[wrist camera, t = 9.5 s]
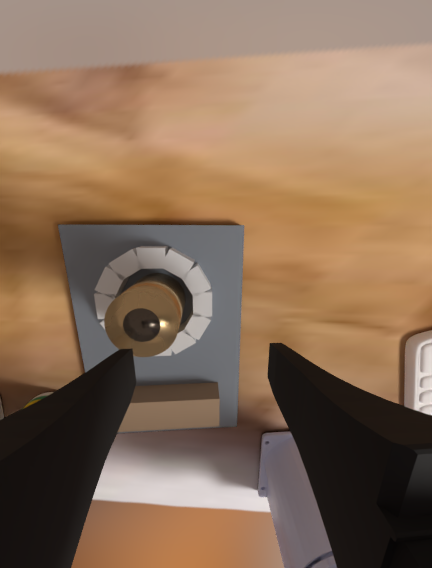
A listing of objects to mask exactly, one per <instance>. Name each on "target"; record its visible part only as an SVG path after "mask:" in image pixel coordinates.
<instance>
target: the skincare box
mask: <svg viewBox="0 0 432 568" xmlns="http://www.w3.org/2000/svg"><path fill="white" fill-rule="evenodd" d="M3 418H4V414H3V408H2V401H1V396H0V420H1V419H3Z"/></svg>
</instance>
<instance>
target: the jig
mask: <svg viewBox="0 0 432 568" xmlns="http://www.w3.org/2000/svg"><path fill="white" fill-rule="evenodd" d="M58 228H59V233H60V239H61V244H62V249H63V255H64V260H65V266H66V271H67V277H68V282H69V287H70V293H71V298H72V304H73V309H74V315H75V320H76V325H77V331H78V336H79V342H80V347H81V352H82V358H83V363H84V369H85V373H86V372H87V371H89V370H90V369H91V368H93V367H94V366H96V365H97V364H99V363H100V362H102V361H103V360H104V359H106V358H107V357H109V356H110V355H112V354H113V353H115V352H116V351H118V350H119V349H118V348H117V347H116V346H115V345H114V344H113V343H112V342H111V341H110V339H109V337H108V336H107V333H106V331H105V326H104V318H105V313H106V311H107V308H108V307H109V305H110V304H111V302H112V301H113V300H114V299H115V298H117V297H118V296H119V295H121V294H122V293H123V292H124V291H126V290H127V289H128V288H130V287H131V286H132V285H133V284H135V283H136V282H137V281H139V280H140V279H141V278H143V277H144V276H146V275H149V274H153V273H162V274H166V275H169V276H171V277H173V278H174V279H176V280H177V281H178V282H179V283H180V285H181V286H182V288H183V290H184V293H185V306H184V310H183V314H182V318H181V322H180V326H179V330H178V334H177V337H176V339H175V341H174V342H173V344H172V345H171V346H170V347H169V348H168V349H167V350H166V351H164V352H162V353H160V354H158V355H155V356H151V357H136V356H133V358H134V366H135V374H136V386H135V389H134V393H133V396H132V399H131V402H130V405H129V407H128V409H127V412H126V414H125V416H124V419H123V421H122V423H121V425H120V428H119V430H118V432H117V434H118V433H135V432H152V431H170V430H187V429H204V428H221V427H237V410H238V383H239V355H240V328H241V300H242V272H243V245H244V225H58Z"/></svg>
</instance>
